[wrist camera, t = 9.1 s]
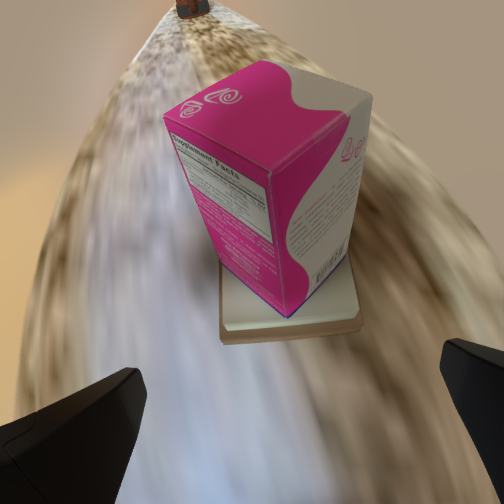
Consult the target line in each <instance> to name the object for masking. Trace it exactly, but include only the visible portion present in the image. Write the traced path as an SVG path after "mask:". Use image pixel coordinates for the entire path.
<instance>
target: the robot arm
mask: <svg viewBox="0 0 504 504" xmlns="http://www.w3.org/2000/svg"><path fill="white" fill-rule="evenodd" d="M440 371H441V374H442V376H443V378H444V381H445V383H446V386H447V388H448V390H449V393H450V395H451V398H452V400H453V403H454V405H455V407H456V409H457V411H458V413H459V415H460V417H461V419H462V421H463V423H464V425H465V427H466V429H467V431H468V432H469V434H470V436H471V438H472V440H473V442H474V444H475V447H476V449H477V451H478V453H479V455H480V457H481V459H482V461H483V463H484V466H485V468H486V470H487V472H488V474H489V477H490V479H491V481H492V484H493V486H494V488H495V491H496V493H497V495H498V498H499V500H500V503H501V504H504V351H501V350H497V349H494V348H490V347H487V346H483V345H480V344H476V343H473V342H469V341H466V340H462V339H459V338H454V339H449V340H446V341H445V343H444V345H443V350H442V355H441V360H440ZM146 399H147V390H146V387H145V384H144V381H143V377H142V374H141V372H140V370H139V369H138V368H129V367H126V368H124V369H122V370H120V371H118V372H116V373H114V374H112V375H110V376H108V377H106V378H104V379H102V380H100V381H98V382H96V383H94V384H92V385H90V386H88V387H86V388H84V389H82V390H80V391H78V392H76V393H74V394H72V395H70V396H68V397H65V398H63V399H61V400H59V401H57V402H55V403H53V404H51V405H49V406H47V407H45V408H42V409H40V410H38V411H37V412H34V413H32V414H29V415H27V416H25V417H23V418H20V419H18V420H16V421H13V422H11V423H8V424H5V425H3V426H0V504H115V501H116V498H117V495H118V492H119V489H120V486H121V483H122V480H123V477H124V474H125V471H126V468H127V466H128V463H129V460H130V457H131V454H132V452H133V449H134V446H135V443H136V440H137V437H138V433H139V429H140V425H141V420H142V416H143V412H144V407H145V403H146Z"/></svg>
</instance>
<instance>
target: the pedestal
mask: <svg viewBox="0 0 504 504" xmlns="http://www.w3.org/2000/svg"><path fill="white" fill-rule="evenodd" d="M363 325H364V324H363V319H362V313H361V308H360V303H359V298H358V293H357V288H356V283H355V278H354V274H353V269H352V265H351V260H350V256H349V251H348V247H347V252H346V257H345V258H344V259H343V261H342V262H341V263H340V264H339V265H338V267H337V268H336V269H335V270H334V271H333V272H332V273H331V275H330V276H329V277H328V278H327V279H326V280H325V281H324V282H323V284H322V285H321V286H320V287H319V288H318V289H317V290H316V291H315V292H314V294H313V295H312V296H311V297H310V298H309V299H308V300H307V301H306V302H305V303H304V304H303V305H302V306H301V307H300V308H299V309H298V310H297V311H296V312H295V313H294V314H293V315H292V316H291V317H290V318H289V319H286V318H284V317H283V316H282V315H280V314H279V313H278V312H277V311H275V310H274V309H273V308H272V307H271V306H269V305H268V304H267V303H266V302H265V301H264V300H262V299H261V298H260V297H259V296H258V295H257V294H255V293H254V292H253V291H252V290H251V289H250V288H249V287H247V286H246V285H245V284H244V283H243V282H242V281H241V280H239V279H238V278H237V277H236V276H235V275H234V274H233V273H231V272H230V271H229V270H228V269H227V268H226V267H225V266H224V265H222V263H221V260H220V258H219V328H220V340H221V341H222V343H223V344H224V345H231V344H247V343H260V342H272V341H283V340H293V339H303V338H312V337H321V336H329V335H336V334H344V333H351V332H358V331H359V330H360V329H361V327H362V326H363Z"/></svg>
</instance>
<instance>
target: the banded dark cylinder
mask: <svg viewBox="0 0 504 504" xmlns="http://www.w3.org/2000/svg"><path fill="white" fill-rule="evenodd" d="M176 3H177V4H176V8H177V13H178V16H179V17H180V18H181V19H190V18H195V17H199V16H202V15H205V14H207V13H208V12H209V9H210V8H209V4H208V0H176Z"/></svg>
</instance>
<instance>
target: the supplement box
mask: <svg viewBox="0 0 504 504" xmlns="http://www.w3.org/2000/svg"><path fill="white" fill-rule="evenodd" d="M372 100H373V96H372V94H371V93H369V92H367V91H364V90H361V89H359V88H356V87H353V86H350V85H348V84H345V83H342V82H339V81H336V80H333V79H329V78H327V77H324V76H320V75H317V74H314V73H311V72H308V71H305V70H301V69H298V68H295V67H292V66H289V65H285V64H282V63H278V62H275V61H271V60H266V59H262V60H260V61H258V62H256V63H254V64H252V65H250V66H248V67H246V68H244V69H242V70H240V71H238V72H236V73H234V74H232V75H230V76H228V77H226V78H225V79H223V80H221V81H219V82H217V83H215V84H213V85H212V86H210V87H208V88H206V89H205V90H203V91H201V92H199V93H198V94H196V95H194V96H193V97H191V98H189V99H187V100H186V101H184V102H183V103H181V104H179V105H178V106H176V107H174V108H173V109H171V110H170V111H168V112H166V113H165V114H164V115H163V119H164V122H165V125H166V127H167V130H168V133H169V135H170V138H171V140H172V143H173V145H174V148H175V151H176V153H177V156H178V158H179V160H180V163H181V165H182V168H183V171H184V173H185V176H186V178H187V181H188V183H189V186H190V188H191V190H192V193H193V196H194V198H195V200H196V203H197V205H198V207H199V210H200V212H201V215H202V217H203V220H204V222H205V225H206V227H207V229H208V232H209V234H210V237H211V239H212V241H213V244H214V246H215V248H216V251H217V253H218V256H219V258H220V260H221V263H222V265H224V266H225V267H226V268H227V269H228V270H229V271H230V272H231V273H233V274H234V275H235V276H236V277H237V278H238V279H239V280H241V281H242V282H243V283H244V284H245V285H246V286H247V287H249V288H250V289H251V290H252V291H253V292H254V293H255V294H257V295H258V296H259V297H260V298H261V299H262V300H264V301H265V302H266V303H267V304H268V305H269V306H271V307H272V308H273V309H274V310H275V311H277V312H278V313H279V314H280V315H282V316H283V317H284V318H286V319H289V318H290V317H291V316H292V315H293V314H294V313H295V312H296V311H297V310H298V309H299V308H300V307H301V306H302V305H303V304H304V303H305V302H306V301H307V300H308V299H309V298H310V297H311V296H312V295H313V294H314V292H315V291H316V290H317V289H318V288H319V287H320V286H321V285H322V284H323V282H324V281H325V280H326V279H327V278H328V277H329V276H330V275H331V273H332V272H333V271H334V270H335V269H336V268H337V267H338V265H339V264H340V263H341V262H342V261H343V259H344V258H345V257H346V252H347V247H348V242H349V237H350V233H351V228H352V223H353V218H354V213H355V208H356V203H357V198H358V193H359V187H360V182H361V176H362V171H363V165H364V158H365V151H366V145H367V138H368V131H369V124H370V115H371V107H372Z"/></svg>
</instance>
